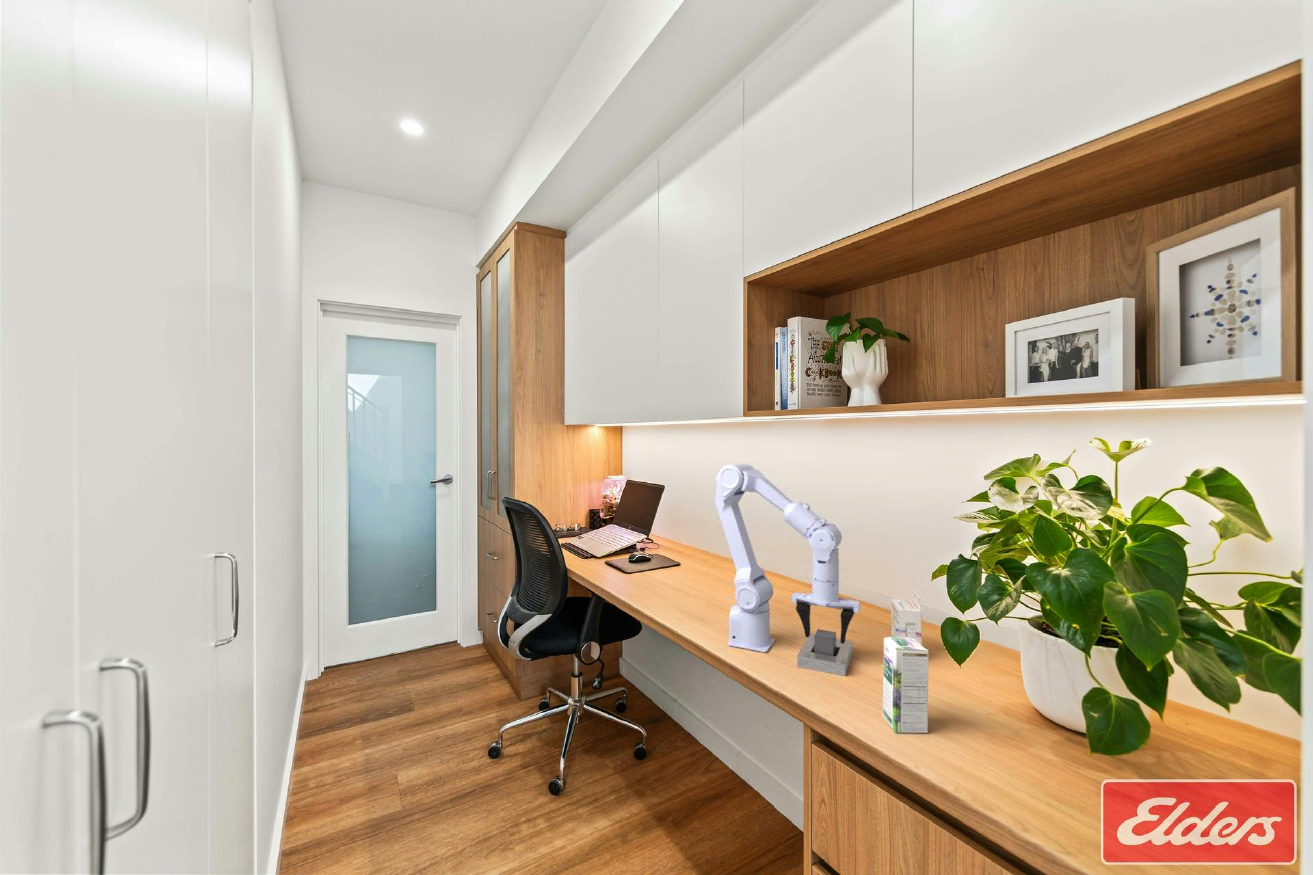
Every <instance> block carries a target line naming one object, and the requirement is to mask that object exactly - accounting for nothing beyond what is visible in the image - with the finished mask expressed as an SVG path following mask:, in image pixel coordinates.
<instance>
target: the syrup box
mask: <svg viewBox="0 0 1313 875" xmlns="http://www.w3.org/2000/svg"><path fill="white" fill-rule="evenodd" d="M929 654H930V653H929V649H928V648H925V646H923V644H922V645H921V644H920V643H919V642H917V641H916V640H915V639H914V638H907V637H892V636H887V637H884V638H883V670H882V671H883V676H882V677H883V678H882V679H883V683H882V686H883V687H882V689H883V690H882V717H883V718H884V720H885V721H886V722H887V724H888V725H889V727H891V729H892V730H893V732H894V733H895V734H927V733H928V732H929V729H928V728H929V727H928V725H929V724H928V723H929V722H928V721H929Z"/></svg>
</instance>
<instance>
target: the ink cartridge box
mask: <svg viewBox="0 0 1313 875" xmlns="http://www.w3.org/2000/svg"><path fill="white" fill-rule="evenodd" d="M910 595H911V597H910V598H911V599H909V598H905V599H904V598H891V599H890V600H891V601H890V603H891V604H890V606H891V607H890V608H891V616H890V617H891V637H907V638H914V639H915V640H916V641H917V642H919V643H920V644H921V645H922V646H923V642H922V638H923V635H922V634H923V633H922V631H923V629H922V628H923V625H922V624H923V620H922V619H923V618H922V604H921V597H920V596H919V595H918V593H917V592H916V591H915V590H914V589H913V588H912V587H910Z"/></svg>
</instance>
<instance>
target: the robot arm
mask: <svg viewBox="0 0 1313 875" xmlns="http://www.w3.org/2000/svg"><path fill="white" fill-rule="evenodd" d="M715 482H716V491H715V499H714V502H715V503H714V504H715V506H716V510H717V513H718V517H719V519H720V523H721V526H722V529H723V532H724V536H725V539H726V543H727V546H728V549H729V551H730V554H731V558H732V560H733V564H734V567H735V570H736V573H735V576H734V581H733V584H734V586H735V591H734V592H735V593H734V597H735V602H736V604H733V605H732V606H731V608H730V611H729V615H728V616H729V618H728V631H729V632H728V646H729V647H735V648H740V649H746V650H751V651H756V652H757V651H758V652H762V653H767V652H768V651H769V650H770V648H771V647H772V645H773V644H774V643H775V640H776V639H774V638H771V636H770V635H771V634H770V633H771V632H770V631H771V630H770V629H771V628H770V626H771V624H770V623H771V620H770V619H771V616H770V615H771V613H770V612H771V611H770V608H771V606H770V600H771V598H772V597H773V595H774V586H773V583H772V582H771V581H770V580H769V578H768V577H767V576H766V573H765V570H764V569H763V568H762V567H760V566H759V564H758V562H757V558H756V556H755V553H754V550H753V546H752V543H751V541H750V537H749V533H748V531H747V528H746V527H747V526H746V525H745V521H744V518H743V515H742V511H741V509H740V505H739V503H740V501H741V499H742V498H743V496H744V494H745V493H746V492H747V493H757V494H758V495H759V496H761V497H762V498H764V499H765V500H766V501H767V502H768V503H770V504H771V505H773V506H774V507H775V508H776V509H778V510H779V511H781V512H782V513H783V516H784V521H785V522H786V523H787V524H788V525H790V526H791V527H792V528H793V529H794V530H795V531H796V532H797V533H799V534H800V535H801V536H802V537H803V538H805V539H806V540H808V544H809V547H810V548H811V550H812V560H811V562H812V563H811V564H812V565H811V567H812V568H811V576H812V577H811V593H804V592H803V593H802V592H801V593H799V592H793V593H792V594H791V603H792V604H796V605H795V610H796V613H797V615H798V616H799V618H800V621H801V624H802V626H803V630H804V637H805V638H808V637H809V635H810V634H811V606H816V607H823V608H830V609H835V610H836V609H837V610H841V612H840V626H841V627H840V639H841V643H843V644H844V642H845V640H846V637H847V631H848V627H849V625H850V624H851V621H852V619H853V617H854V615H855V613H858V614H859V613H860V610H861V601H859V600H858V601H857V600H853V599H849V598H848V599H847V598H844V597H839V594H840V593H839V590H840V588H839V586H840V585H839V584H840V577H839V576H840V575H839V574H840V568H839V567H840V559H839V546H840V544H841V543H842V539H843V538H842V532H841V530H840V529H839V528H838V527H837V525H836V524H834V523H831V522H828V521H827V520H826V518H824V517H823V518H821V517H820V516H819V515H818V514H816V513H815V512H814V511H812V510H811V509H810V508H811V505H809V503H802V502H801V501H798V502H797V501H796V502H793V501H792V500H791V499H790V498H789V497H788V496H787V495H786V494H784V492H783V491H781V490H780V489H779V488H778V487H776V486H775V485H774V483H772V482H771V481H770V480H769V479H768V478H767V477H766V476H765V475H764V474H763V473H762V472H761V471H760V470H758V469H756V468H755V467H754V466H753V465H751V464H750V463H748V462H747V463H746V462H743V463H740V464H739V463H738V464H726V465H724V466H723V467H721V469H720V470H719V472H718V473H717V475H716V477H715Z"/></svg>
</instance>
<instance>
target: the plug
mask: <svg viewBox="0 0 1313 875" xmlns="http://www.w3.org/2000/svg"><path fill="white" fill-rule="evenodd" d="M813 635H814V653H818V654H824V655H830V656H835V657H836V638H837V632H836V631H832V630H826V629H819V628H818V629H817V630H816V631H815V633H814V634H813Z"/></svg>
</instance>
